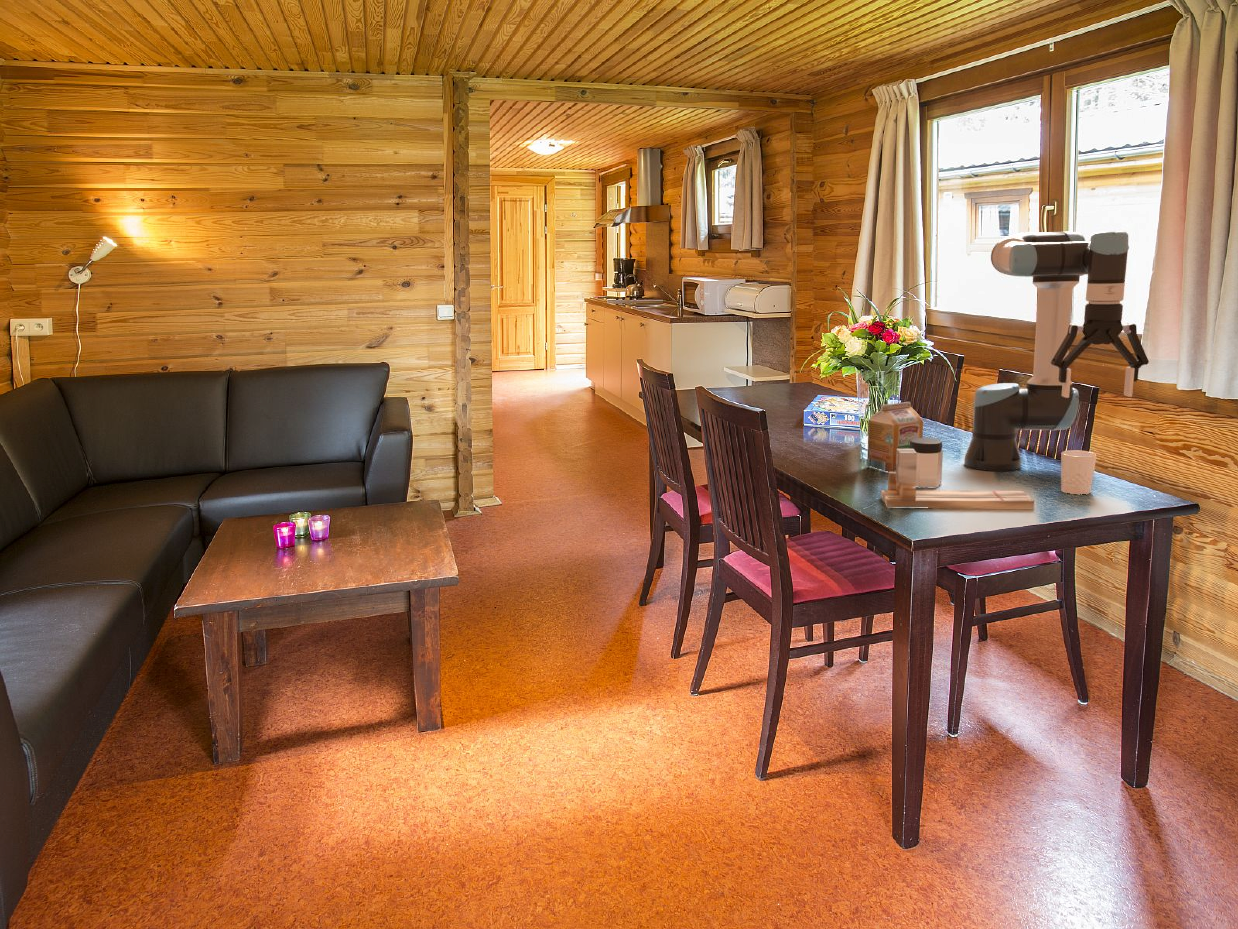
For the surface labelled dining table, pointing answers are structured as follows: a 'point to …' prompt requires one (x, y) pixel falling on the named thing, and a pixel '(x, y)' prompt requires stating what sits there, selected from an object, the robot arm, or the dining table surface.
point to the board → (961, 499)
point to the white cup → (1077, 471)
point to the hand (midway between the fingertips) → (1096, 396)
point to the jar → (928, 461)
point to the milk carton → (891, 434)
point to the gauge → (904, 474)
